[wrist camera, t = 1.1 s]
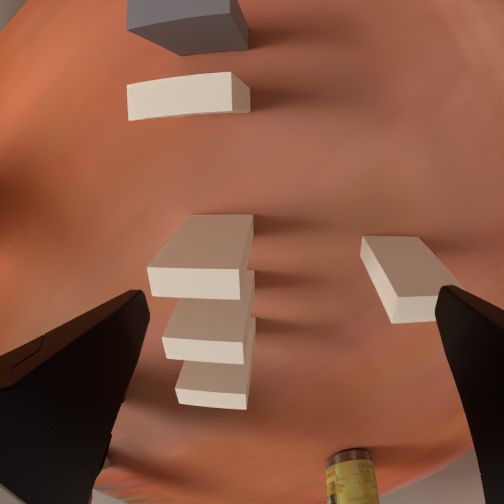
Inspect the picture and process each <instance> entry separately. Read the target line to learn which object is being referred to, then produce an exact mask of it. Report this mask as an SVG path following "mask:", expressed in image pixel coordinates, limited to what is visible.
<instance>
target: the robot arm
mask: <svg viewBox="0 0 504 504" xmlns="http://www.w3.org/2000/svg"><path fill="white" fill-rule="evenodd" d="M435 318H436V322H437V325H438V329H439V332H440V336H441V339H442V343H443V347H444V351H445V354H446V357H447V360H448V363H449V366H450V369H451V371H452V374H453V377H454V380H455V383H456V386H457V389H458V392H459V395H460V398H461V401H462V405H463V408H464V411H465V415H466V418H467V421H468V425H469V429H470V432H471V436H472V440H473V444H474V448H475V452H476V456H477V460H478V465H479V469H480V473H481V480H482V485H483V490H484V496H485V502H486V504H504V310H502V309H500V308H499V307H497V306H495V305H493V304H491V303H489V302H487V301H485V300H483V299H481V298H479V297H477V296H475V295H473V294H471V293H469V292H467V291H465V290H463V289H461V288H459V287H457V286H455V285H444V286H442V287H441V288H440V291H439V294H438V298H437V302H436V306H435ZM149 320H150V312H149V308H148V304H147V301H146V297H145V294H144V292H143V291H142V290H129V291H127V292H125V293H123V294H121V295H119V296H117V297H115V298H113V299H111V300H109V301H107V302H105V303H103V304H101V305H99V306H98V307H96V308H94V309H92V310H90V311H88V312H86V313H84V314H82V315H80V316H78V317H76V318H74V319H72V320H70V321H69V322H67V323H65V324H63V325H61V326H59V327H57V328H55V329H53V330H51V331H49V332H47V333H46V334H45V335H42V336H40V337H38V338H36V339H34V340H32V341H30V342H28V343H26V344H24V345H22V346H20V347H18V348H16V349H14V350H12V351H10V352H8V353H5V354H3V355H1V356H0V504H88V502H89V499H90V496H91V493H92V489H93V486H94V483H95V480H96V478H97V476H98V475H99V473H100V472H101V470H102V468H103V466H104V463H105V459H106V456H107V452H108V448H109V444H110V441H111V437H112V434H111V431H112V429H113V426H114V423H115V420H116V418H117V415H118V412H119V409H120V407H121V404H122V403H123V402H124V400H125V397H124V396H125V393H126V391H127V388H128V385H129V383H130V380H131V378H132V375H133V372H134V370H135V367H136V365H137V362H138V359H139V356H140V353H141V349H142V345H143V342H144V338H145V335H146V331H147V327H148V324H149Z"/></svg>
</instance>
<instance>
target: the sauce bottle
mask: <svg viewBox="0 0 504 504" xmlns="http://www.w3.org/2000/svg"><path fill="white" fill-rule="evenodd" d="M326 468H327V470H326V484H327V504H379V497H378V490H377V483H376V477H375V471H374V465H373V462H372V457H371V454H370V453H369V452H368V451H365V450H361V449H352V450H347V451H342V452H339V453H337V454H335V455H333V456H332V457H331V458H330V459H329V460H328V461H327V467H326Z"/></svg>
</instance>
